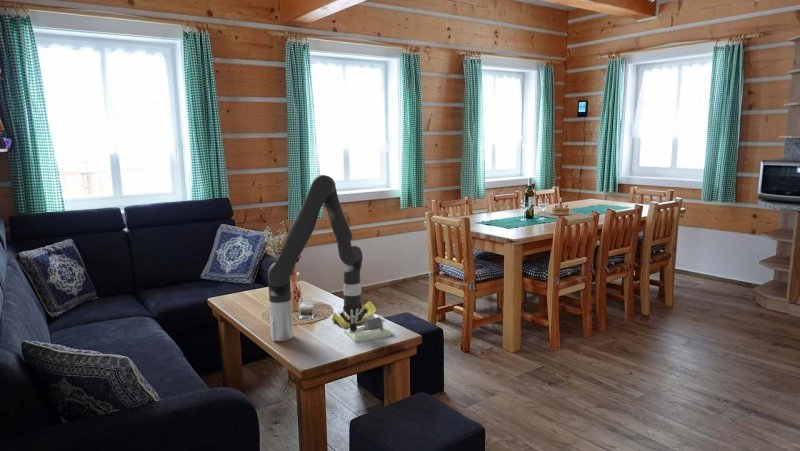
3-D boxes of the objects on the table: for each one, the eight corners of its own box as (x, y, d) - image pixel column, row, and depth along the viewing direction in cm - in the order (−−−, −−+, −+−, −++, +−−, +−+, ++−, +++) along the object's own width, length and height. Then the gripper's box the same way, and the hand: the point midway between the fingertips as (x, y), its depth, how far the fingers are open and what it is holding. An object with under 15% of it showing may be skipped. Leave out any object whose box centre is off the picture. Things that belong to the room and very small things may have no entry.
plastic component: (343, 324, 245) (332, 310, 252) (341, 336, 250) (330, 322, 256) (379, 312, 257) (368, 299, 263) (377, 323, 261) (366, 310, 267)
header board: (354, 342, 230) (354, 328, 229) (344, 332, 242) (343, 319, 241) (393, 335, 238) (393, 321, 237) (381, 325, 250) (381, 312, 248)
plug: (368, 333, 238) (367, 319, 237) (364, 330, 241) (364, 316, 240) (380, 330, 240) (380, 317, 239) (377, 327, 244) (376, 314, 243)
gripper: (363, 288, 240) (364, 325, 243) (334, 292, 234) (336, 330, 237) (370, 292, 233) (370, 331, 236) (340, 297, 227) (341, 336, 230)
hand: (353, 331), depth 237 cm, fingers closed
